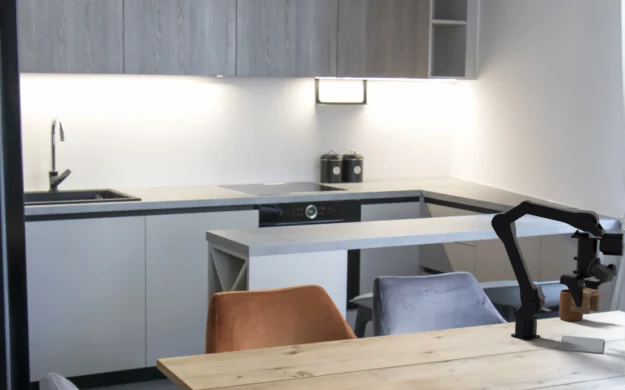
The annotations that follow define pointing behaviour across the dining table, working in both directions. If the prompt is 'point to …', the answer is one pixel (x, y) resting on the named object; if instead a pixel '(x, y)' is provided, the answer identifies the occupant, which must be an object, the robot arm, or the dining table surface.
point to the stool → (587, 301)
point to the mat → (581, 344)
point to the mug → (568, 308)
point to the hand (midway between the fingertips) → (584, 305)
